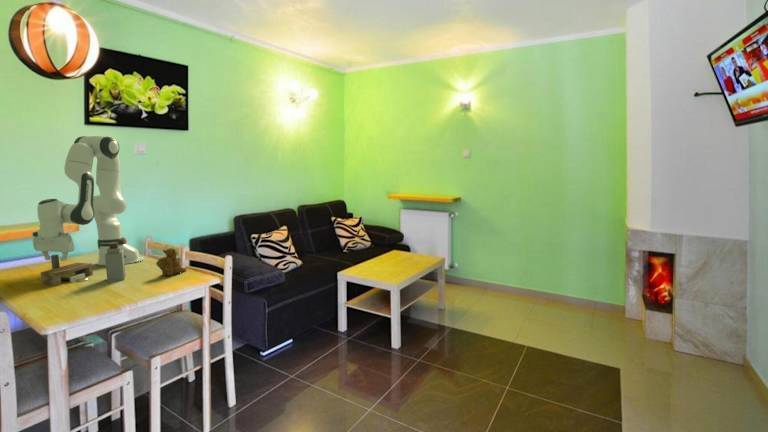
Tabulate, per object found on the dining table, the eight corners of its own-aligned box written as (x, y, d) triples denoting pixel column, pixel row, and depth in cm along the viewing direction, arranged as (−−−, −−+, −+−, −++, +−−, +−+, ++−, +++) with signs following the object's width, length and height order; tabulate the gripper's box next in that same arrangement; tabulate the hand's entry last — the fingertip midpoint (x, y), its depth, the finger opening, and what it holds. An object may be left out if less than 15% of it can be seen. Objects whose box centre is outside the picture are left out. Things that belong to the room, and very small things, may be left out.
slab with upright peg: (47, 280, 190) (44, 256, 188) (61, 276, 197) (58, 253, 195) (72, 282, 188) (69, 257, 186) (85, 278, 194) (83, 254, 193)
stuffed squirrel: (187, 270, 209) (186, 246, 208) (173, 278, 195) (171, 252, 194) (169, 270, 209) (167, 246, 208) (153, 277, 195) (151, 252, 194)
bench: (42, 284, 184) (40, 272, 183) (77, 274, 202) (76, 262, 201) (58, 285, 182) (56, 273, 182) (92, 274, 200) (91, 263, 199)
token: (89, 279, 194) (89, 277, 193) (87, 281, 190) (87, 279, 190) (78, 280, 192) (77, 278, 191) (75, 283, 188) (75, 281, 187)
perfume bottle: (107, 281, 189) (104, 245, 186) (109, 278, 195) (106, 242, 192) (124, 279, 192) (120, 244, 189) (125, 276, 198) (122, 241, 195)
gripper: (76, 231, 191) (79, 259, 194) (41, 230, 195) (45, 257, 197) (63, 234, 185) (67, 262, 187) (28, 233, 189) (32, 260, 191)
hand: (56, 260), depth 192 cm, fingers open, 8 cm apart
